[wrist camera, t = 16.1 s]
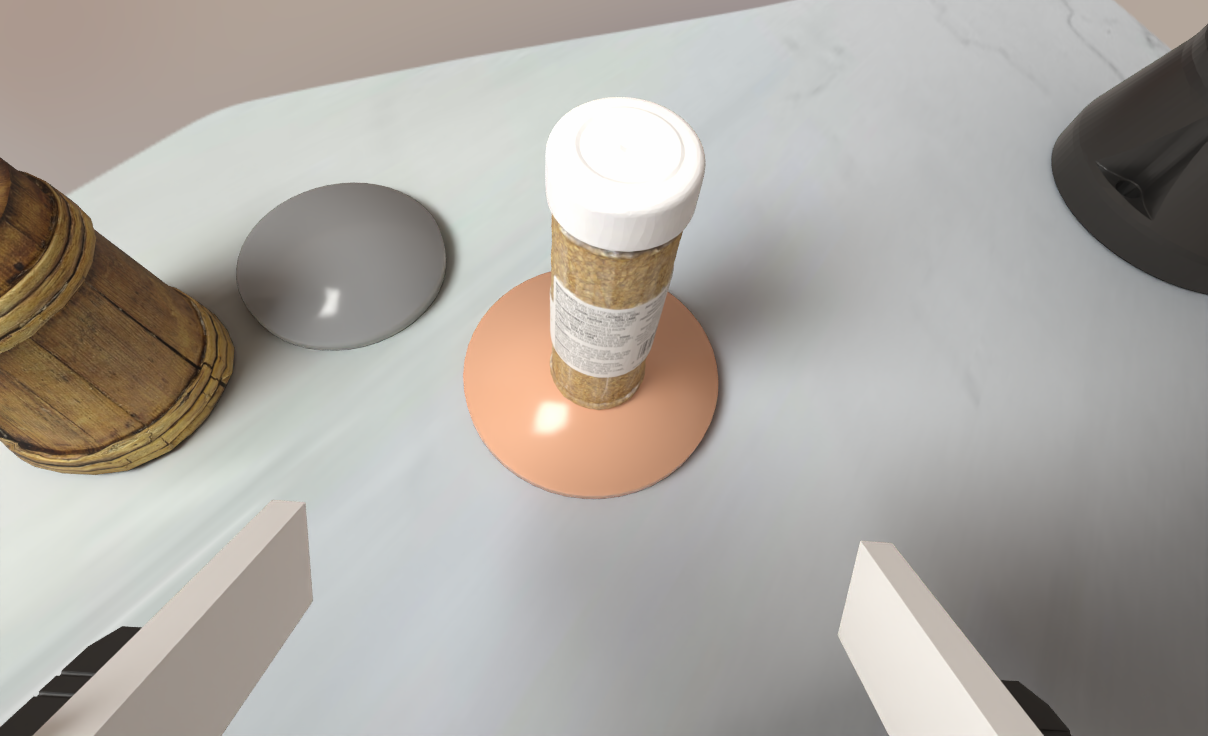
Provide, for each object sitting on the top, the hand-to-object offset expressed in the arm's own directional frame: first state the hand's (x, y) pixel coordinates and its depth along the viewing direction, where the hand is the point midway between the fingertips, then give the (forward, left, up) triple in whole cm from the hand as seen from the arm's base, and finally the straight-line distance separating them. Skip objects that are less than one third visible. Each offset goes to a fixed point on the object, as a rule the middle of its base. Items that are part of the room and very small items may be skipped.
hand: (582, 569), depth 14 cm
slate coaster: (+18, -10, -11) cm, 23 cm away
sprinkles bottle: (+4, -10, -10) cm, 15 cm away
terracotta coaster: (+4, -10, -11) cm, 16 cm away
